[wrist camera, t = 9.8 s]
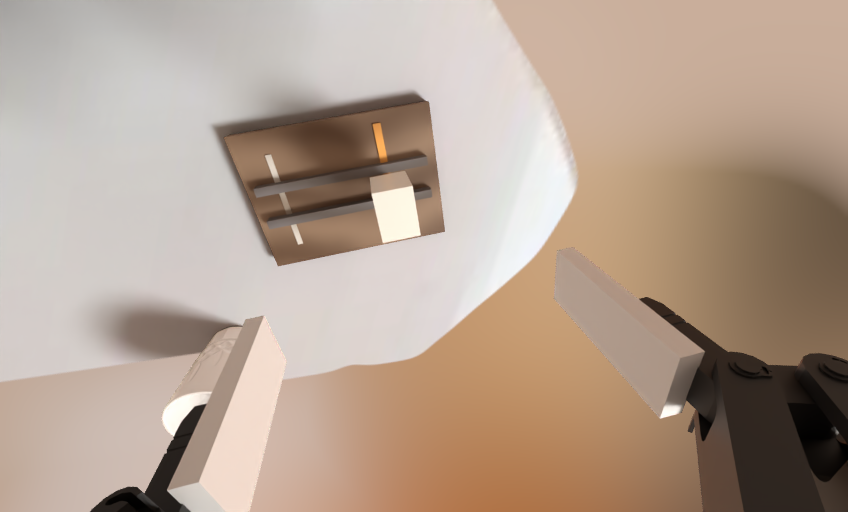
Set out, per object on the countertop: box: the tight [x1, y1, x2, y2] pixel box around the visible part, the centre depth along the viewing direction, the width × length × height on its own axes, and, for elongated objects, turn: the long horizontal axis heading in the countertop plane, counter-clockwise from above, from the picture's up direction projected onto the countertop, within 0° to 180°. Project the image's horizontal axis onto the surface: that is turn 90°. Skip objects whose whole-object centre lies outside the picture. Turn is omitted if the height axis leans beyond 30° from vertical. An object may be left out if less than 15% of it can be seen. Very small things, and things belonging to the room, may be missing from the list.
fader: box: [370, 171, 421, 243], centre depth 28 cm, size 4×3×8 cm
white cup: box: [162, 327, 242, 436], centre depth 36 cm, size 8×8×10 cm
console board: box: [224, 101, 445, 266], centre depth 32 cm, size 13×18×2 cm
